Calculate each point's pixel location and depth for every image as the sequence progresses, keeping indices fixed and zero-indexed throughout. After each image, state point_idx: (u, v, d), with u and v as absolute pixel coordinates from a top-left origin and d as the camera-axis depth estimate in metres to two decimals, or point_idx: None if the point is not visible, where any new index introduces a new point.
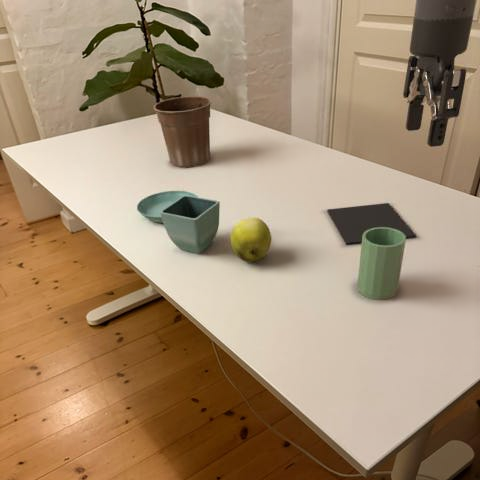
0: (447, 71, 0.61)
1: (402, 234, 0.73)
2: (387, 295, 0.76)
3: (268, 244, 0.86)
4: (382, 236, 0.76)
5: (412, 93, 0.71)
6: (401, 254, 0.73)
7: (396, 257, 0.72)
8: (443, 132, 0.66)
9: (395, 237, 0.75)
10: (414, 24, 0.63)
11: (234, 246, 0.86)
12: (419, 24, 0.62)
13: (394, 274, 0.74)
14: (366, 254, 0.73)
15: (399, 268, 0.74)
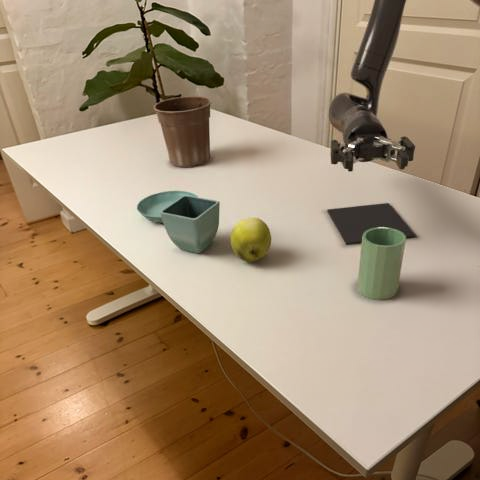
0: None
1: (402, 234, 0.73)
2: (387, 295, 0.76)
3: (268, 244, 0.86)
4: (382, 236, 0.76)
5: (387, 160, 0.82)
6: (401, 254, 0.73)
7: (396, 257, 0.72)
8: (343, 159, 0.79)
9: (395, 237, 0.75)
10: None
11: (234, 246, 0.86)
12: None
13: (394, 274, 0.74)
14: (366, 254, 0.73)
15: (399, 268, 0.74)
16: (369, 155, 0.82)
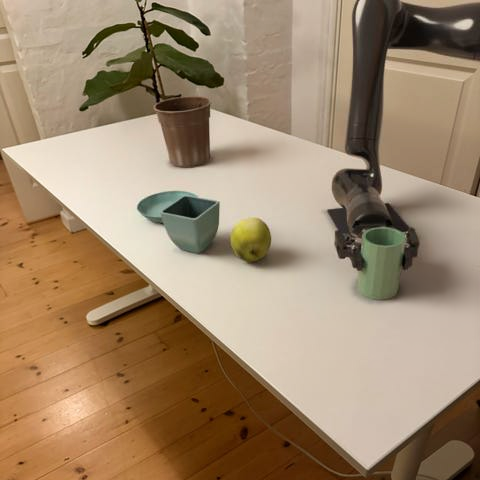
0: None
1: (402, 234, 0.73)
2: (387, 295, 0.76)
3: (268, 244, 0.86)
4: (382, 236, 0.76)
5: None
6: (401, 254, 0.73)
7: (396, 257, 0.72)
8: (352, 257, 0.76)
9: (395, 237, 0.75)
10: None
11: (234, 246, 0.86)
12: None
13: (394, 274, 0.74)
14: (366, 254, 0.73)
15: (399, 268, 0.74)
16: None
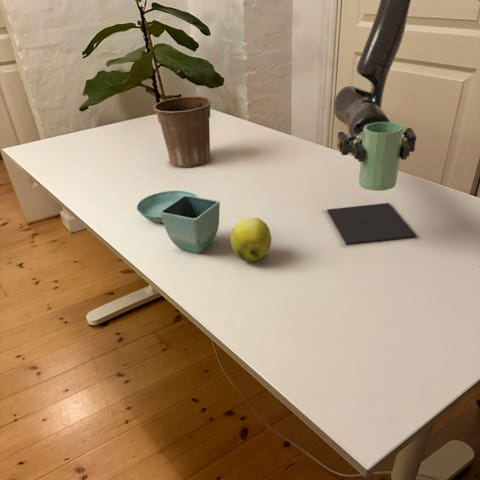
0: None
1: (400, 125, 0.79)
2: (386, 185, 0.82)
3: (268, 244, 0.86)
4: (381, 130, 0.82)
5: None
6: (399, 143, 0.79)
7: (395, 145, 0.78)
8: (354, 150, 0.82)
9: (393, 130, 0.81)
10: None
11: (234, 246, 0.86)
12: None
13: (393, 163, 0.80)
14: (367, 144, 0.79)
15: (397, 158, 0.80)
16: None
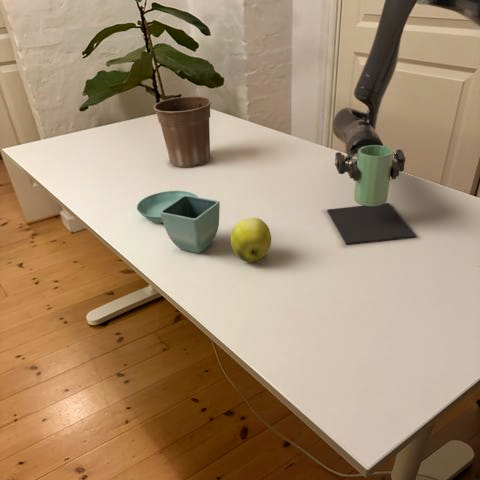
0: None
1: (391, 149, 0.89)
2: (378, 202, 0.92)
3: (268, 244, 0.86)
4: (374, 152, 0.92)
5: None
6: (390, 164, 0.88)
7: (385, 166, 0.88)
8: (349, 170, 0.92)
9: (385, 152, 0.91)
10: None
11: (234, 246, 0.86)
12: None
13: (384, 182, 0.90)
14: (361, 165, 0.89)
15: (388, 177, 0.90)
16: None
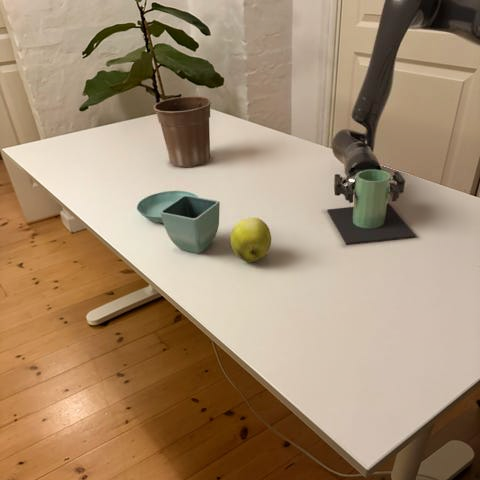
0: None
1: (388, 173, 0.92)
2: (376, 224, 0.95)
3: (268, 244, 0.86)
4: (372, 176, 0.95)
5: None
6: (387, 189, 0.91)
7: (383, 191, 0.91)
8: (345, 192, 0.95)
9: (382, 177, 0.94)
10: None
11: (234, 246, 0.86)
12: None
13: (381, 206, 0.93)
14: (359, 189, 0.92)
15: (385, 201, 0.93)
16: None
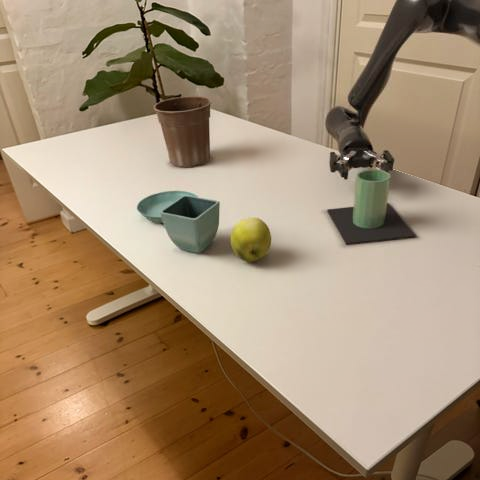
0: (330, 161, 1.11)
1: (388, 173, 0.92)
2: (376, 224, 0.95)
3: (268, 244, 0.86)
4: (372, 176, 0.95)
5: (373, 169, 1.08)
6: (387, 189, 0.91)
7: (383, 191, 0.91)
8: (340, 170, 1.04)
9: (382, 177, 0.94)
10: None
11: (234, 246, 0.86)
12: None
13: (381, 206, 0.93)
14: (359, 189, 0.92)
15: (385, 201, 0.93)
16: (359, 165, 1.07)
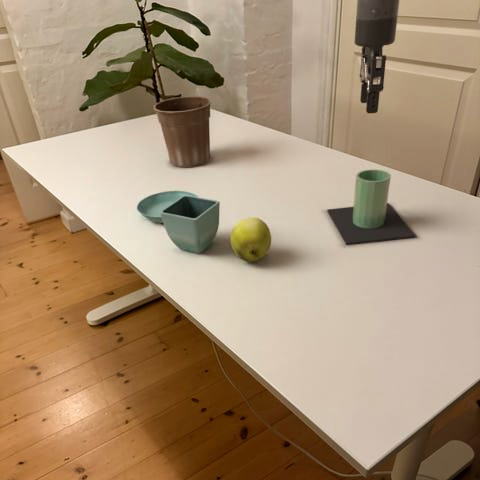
0: (372, 57, 0.85)
1: (388, 173, 0.92)
2: (376, 224, 0.95)
3: (268, 244, 0.86)
4: (372, 176, 0.95)
5: (361, 74, 0.95)
6: (387, 189, 0.91)
7: (383, 191, 0.91)
8: (375, 102, 0.91)
9: (382, 177, 0.94)
10: None
11: (234, 246, 0.86)
12: (357, 22, 0.87)
13: (381, 206, 0.93)
14: (359, 189, 0.92)
15: (385, 201, 0.93)
16: None
